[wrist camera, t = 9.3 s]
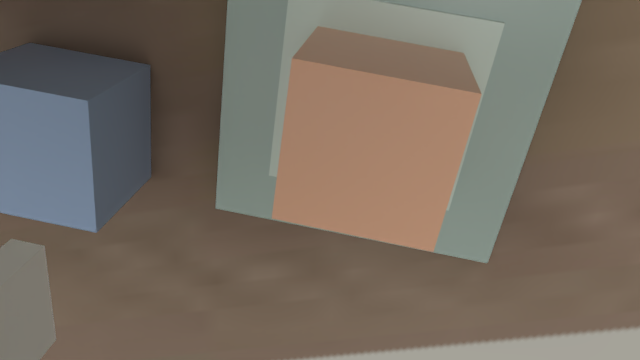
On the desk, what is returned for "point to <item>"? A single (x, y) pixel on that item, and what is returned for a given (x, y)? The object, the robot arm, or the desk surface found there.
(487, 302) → the desk surface
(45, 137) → the brick blue
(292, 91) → the brick terracotta
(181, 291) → the desk surface
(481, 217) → the base plate
